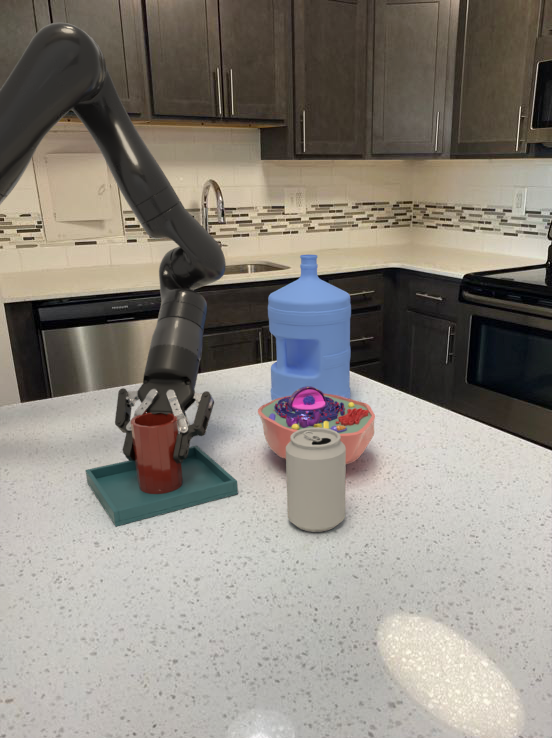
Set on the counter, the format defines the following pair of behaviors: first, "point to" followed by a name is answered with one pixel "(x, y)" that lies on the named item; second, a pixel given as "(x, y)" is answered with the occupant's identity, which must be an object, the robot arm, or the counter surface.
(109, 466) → the rectangular tray
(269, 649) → the counter surface
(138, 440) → the cup
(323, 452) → the can
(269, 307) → the water jug
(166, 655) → the counter surface
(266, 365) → the counter surface
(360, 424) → the cell model
